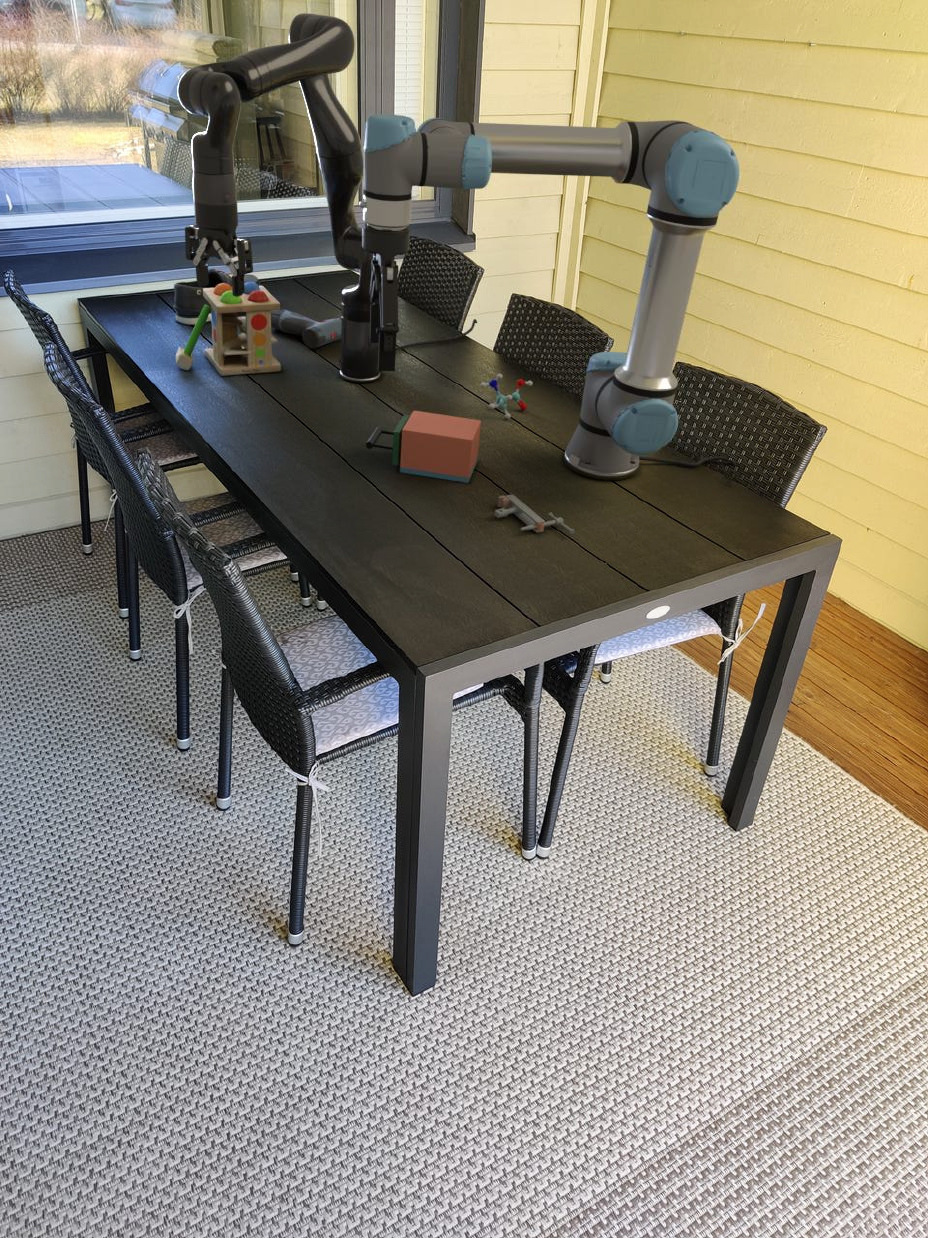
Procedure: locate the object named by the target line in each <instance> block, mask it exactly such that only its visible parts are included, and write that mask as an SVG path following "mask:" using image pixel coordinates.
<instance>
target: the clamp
mask: <svg viewBox="0 0 928 1238" xmlns="http://www.w3.org/2000/svg"><path fill="white" fill-rule="evenodd" d="M497 508H498V509H495V510H494V516H495V517H496V518H497V519H499V518H505V517H507V516H508V515H512V514H513V515H514V516H516V517H517V518H518V519H519V520H521V522H523V523H524V524H525V526H523V527H520V531H521V532H523V531H531V530H532V531H534V532H535V533H536V534H537V533H538V534H540V533H542V532H544V531H545V527H549V526H562V527H563V528H564V529H565V530H567V531H568V533H569V534H570V535H573V534H574V533H575V529H574V528H570V527H569V526H568V525H566V524H565V523H564V519H563V518H562V517H561V516H560V517H556V516H555V515H554V514H553V512H549V513H548V514H547V517H548V518H551V520H548V521H546V520H545V519H543V518H542V517H541V516H540V515H539V514H537V513H536V512H535V511H534V510H532V509H531V508H530V507H529V506H528V505H526V504H525V503H524V502H523V501H522V500H520V499H519V498H518V497H517V496H515V495H514V494H508V495H499V496H498V499H497ZM552 519H553V520H552Z"/></svg>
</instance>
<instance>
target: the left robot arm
mask: <svg viewBox="0 0 928 1238" xmlns="http://www.w3.org/2000/svg"><path fill="white" fill-rule="evenodd" d="M355 47H356V41H355V36H354V33H353V30H352V28H351V26H350V25H349V23H348V22H346V21H345V20H344V19H341V18H339V17H336V16H331V15H325V14H317V13H308V12H307V13H306V12H305V13H304V12H303V13H299V14H297V15H295V16H294V17H293V19H292V21H291V23H290V26H289V30H288V43H283V44H276V45H275V44H274V45H267V46H263V47H259V48H255V49H252V50H249V51H247V52H244V53H242V54H239V55H237V56H235V57H233V58H231V59H228V60H223V61H216V62H210V63H205V64H200V65H197V66H194V67H191V68H190V69H188V70H187V71H185V72H184V73H183V74H182V76H181V77H180V79H179V81H178V84H177V97H178V100H179V102H180V105H181V106H182V107H183V108H184V110H186V111H187V112H188V113H190V114H192V115H194V116H199V117H203V118H208V124H207V128H206V131H202V132H201V131H200V132H197V133H195V134H194V135H193V136H192V139H191V157H192V194H193V196H192V197H193V209H194V223H195V224H194V225H193V224H192V225H188V226H185V227H184V243H185V245H184V246H185V247H184V249H185V250H184V251H185V259H186V260H187V261H191V262H192V263H193V265H194V267H195V277H196V281H197V282H198V285H199V286H201V287H204V286H207V285H209V274H208V270H209V264H207V263H208V261H209V260H210V258H216V259H218V260H221V261H223V264H224V265H225V266H227V267H228V269H229V271H230V274H231V278H232V294H233V296H236V297H238V296H241V295H243V293H244V291H245V285H244V275H249V274H251V273H253V272H254V264H253V263H254V262H253V251H252V241H251V239H250V238H249V237H245V238H238V236H237V233H236V231H237V228H238V226H239V214H238V211H239V210H238V192H237V181H236V176H235V159H234V145H235V139H236V135H237V130H238V126H239V120H240V115H241V114H240V113H241V110H242V109H241V108H242V104H247V103H250V102H253V101H255V100H257V99H259V98H262V97H264V96H266V95H268V94H271V93H272V92H275V91H277V90H279V89H281V88H284V87H286V86H289V85H292V84H295V83H298V82H299V85H300V89H301V92H302V94H303V99H304V102H305V105H306V110H307V114H308V118H309V122H310V126H311V130H312V134H313V140H314V144H315V145H314V146H315V152H316V156H317V161H318V165H319V169H320V174H321V176H322V178H321V179H322V182H323V187H324V192H325V197H326V202H327V207H328V215H329V223H330V233H331V239H332V248H333V253H334V257H335V259H336V261H337V263H338V265H340V267H341V268H344V269H346V270H349V271H352V272H356V273H359V278H358V279H359V280H358V283H357V284H351V285H348V286H345V287H343V289H342V290H341V307H340V308H341V310H340V311H341V312H340V314H341V315H340V318H341V338H340V358H339V360H338V365H339V366H340V370H339V376H340V377H341V378H342V380H345V381H348V382H352V383H359V384H360V383H361V384H364V383H365V384H366V383H367V384H369V383H373V382H376V381H378V380H380V378H381V375H382V374H383V371H378V353H379V343H370V312H371V304H374V303H371V301H370V298H371V296H370V294H369V291H370V285H371V274H372V264H371V263H372V260H373V254H372V253H369V252H367V251H365V250H364V249H363V247H362V227H361V226H359V224H358V221H357V218H356V211H355V199H356V196H357V194H358V193H359V189H360V187H361V185H362V182H363V180H364V150H363V147H362V141H361V138H360V137H361V136H360V134H359V132H358V130H357V127H356V125H355V123H354V122H353V120H352V119H351V117H350V115H349V114H348V113H347V111H346V109H345V108H344V107H343V105H342V103H341V102H340V100H339V98H338V97H337V96H336V94H335V92H334V89H333V87H332V84H331V81H330V77H329V75H330V74H336V73H341V72H343V71H345V70H346V69H347V68H348V67H349V66H350V64H351V62H352V60H353V59H354V54H355ZM231 256H232V257H231ZM476 324H478V320H477V319H476V318H474V319H473V320H472V323H471V326H470V328H469V329H468V330H466V331H465V332H464V333H460V334H458V335H455V336H451V337H445V338H440V339H439V338H438V339H433V340H426V341H418V342H412V343H408V344H404V345H400V346H396V351H400V350H403V349H407V348H411V347H416V346H423V345H424V346H425V345H430V344H436V343H442V342H450V341H453V340H457V339H460V338H462V337H465V336H467V335H469V334H470V333H471V332H472V331H473V330H474V328H475V325H476Z"/></svg>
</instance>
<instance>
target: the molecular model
mask: <svg viewBox="0 0 928 1238" xmlns="http://www.w3.org/2000/svg"><path fill="white" fill-rule="evenodd" d="M503 377H504V376H503V374H502V373H498V374H497V375H496V378H495V379H492V380H490V382H485V381H482V382H481V383H480V387H481V388H482V389H485V388H486V387H487V386H488V387H489V386H490V387H491V388H493V389H494V391H495V393H496V394H497V396H496V401H495V402H493V403H490V404H488V409H489V410H494V409H495V410H496V408H499V410H503V412H504V418H505V419H507V420H509V419H511V418H512V417H511V416H512V415H511V413H508V410H507V405H508V404H507V403H508V402H509V401H511V400H513V401H515V402H516V403H517V405H518V406H519V410H521V411H523V412H525V411H526V410H527V408H528V406H527V404H525V403H524V402H523V400H522V399H521V398H520V397H521V396H520V393H519V392H520V389H521V387H523V386H524V385H527V386H528V387H532V386H533V381H532V380H528V381H524V380H523V379H522V378H519V379H517V380H516V385H517V387H516V390H515V391H514V392H512V394H507V395H506V396H505V395H504V394H502V393H500V391H499V389H498V382H499V380H502V379H503Z"/></svg>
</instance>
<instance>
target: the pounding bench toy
mask: <svg viewBox="0 0 928 1238" xmlns="http://www.w3.org/2000/svg"><path fill="white" fill-rule="evenodd" d="M244 285H245V291H244V293H243V295H241V296H238V297H236V296H233V294H232V287H231V286H230V285H228V284H226V283H221V284H218V285H217V286H216V287H215V288H204V289H203V296H204V297H205V299H206V300H207V301H208V302H209V304H210V305H211V307H210V306H208V305H204V307H203V309H202V311H201V314H200V316H199V318H198V320H197V322H196V324H194V327H193V329H192V331H191V332H190V333H191V334H190V336H189V338H188V340H187V343H186V344H185V347H184V348H182V347H180V346H179V347H178V349H177V351H176V354H175V357H174V358H175V362H176V365H177V366H178V368H179V369H182V370H185V371H189V370H190V369H191V367H192V365H193V363H194V356H193V351H194V348H195V347H196V345H197V342H198V340H199V337H200V336H201V333H202V332H203V329H204V326H205V325H206V323H207V322H206V320H207V318H209V320H210V321H209V322H211V336H212V337H211V338H212V339H211V340H212V348H205V349H204V352H205V353H204V355H205V357H206V359H208V361H209V363H210V364H211V365H212V366H213V367H214V369H215V370H216V371H217V372H218V374H219V375H220V376H222V377H223V376H234V375H235V376H236V375H246V374H247V375H250V374H262V373H275V372H281V370H282V364H281V363H280V362H279V360H278V359H277V358H276V357H275V356H274V355H273V348H272V347H273V345H272V344H276V343H278V342H279V341H278V339H277V338H276V337H275V336H274V334H272V327H271V310H280V309H281V304H280V301H278V300H277V299H276V297H274V296H273V295H272V294H271V293H270V292H269V290H268V289H267V288H266V287H264V285H261V286H258V285H257V284H256V283H254V282H247V283H245V284H244ZM210 310H211V314H209V312H210ZM238 313H244V314H245V315H244V316H238ZM238 329H239V331H240V333H239V334H238Z"/></svg>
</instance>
